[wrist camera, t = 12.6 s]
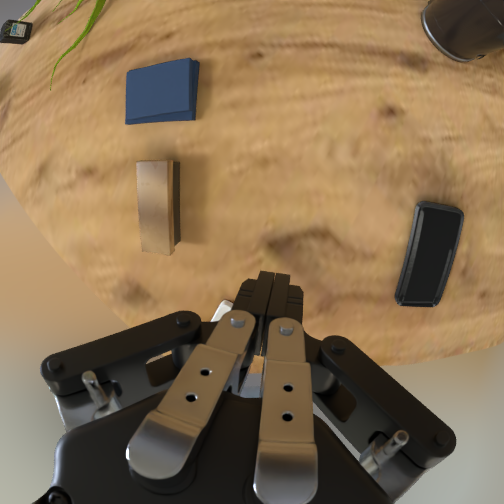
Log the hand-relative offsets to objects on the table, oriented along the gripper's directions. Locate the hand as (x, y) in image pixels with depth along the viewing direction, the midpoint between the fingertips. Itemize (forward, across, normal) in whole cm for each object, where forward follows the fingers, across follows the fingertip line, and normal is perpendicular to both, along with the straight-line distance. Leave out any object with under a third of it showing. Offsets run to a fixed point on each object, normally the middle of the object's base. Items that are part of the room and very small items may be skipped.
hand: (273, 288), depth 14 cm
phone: (+21, -20, +5) cm, 30 cm away
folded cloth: (+21, +18, -13) cm, 30 cm away
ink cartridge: (+21, +56, -35) cm, 70 cm away
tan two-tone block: (+21, +16, +2) cm, 27 cm away
